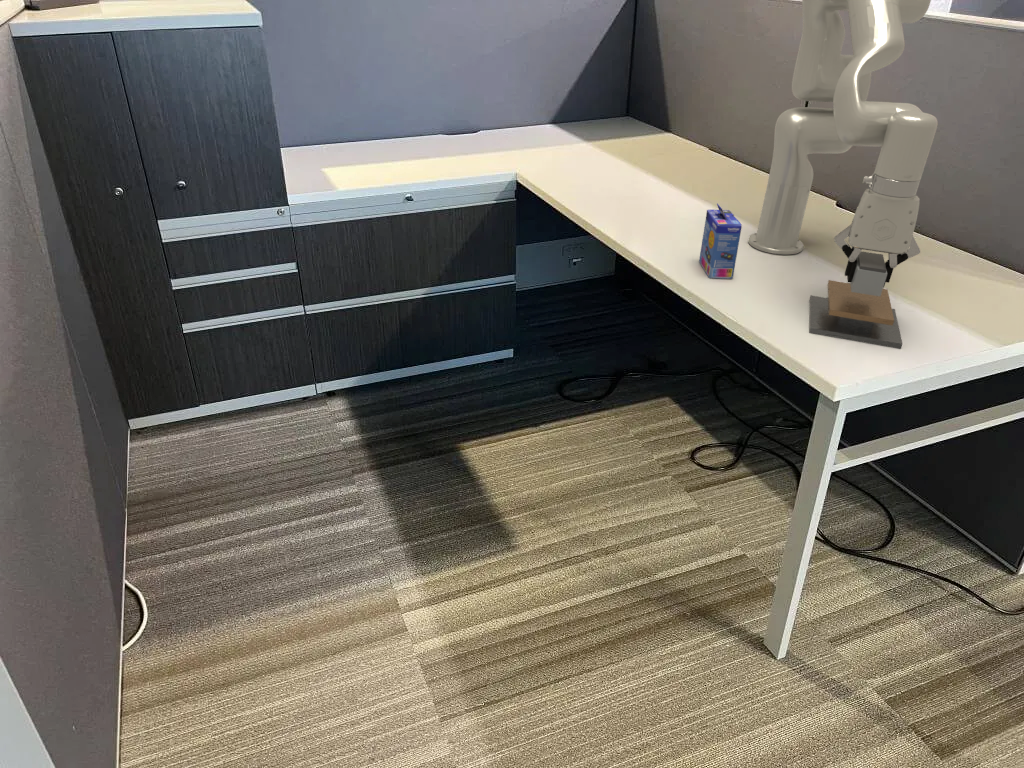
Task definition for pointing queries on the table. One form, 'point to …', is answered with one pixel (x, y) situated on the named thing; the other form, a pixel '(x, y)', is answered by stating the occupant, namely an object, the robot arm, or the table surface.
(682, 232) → the table surface
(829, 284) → the cardboard on grey plate
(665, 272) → the table surface
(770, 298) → the table surface
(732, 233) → the ink cartridge box
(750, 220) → the table surface
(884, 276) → the block
